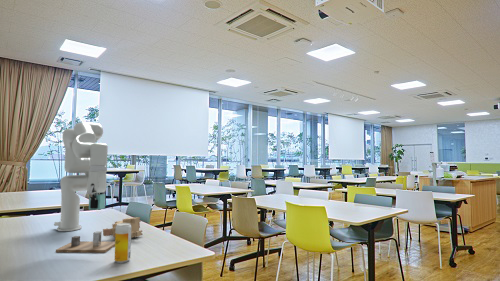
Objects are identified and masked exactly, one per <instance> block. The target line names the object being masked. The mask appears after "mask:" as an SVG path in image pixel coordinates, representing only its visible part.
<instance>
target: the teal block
mask: <svg viewBox="0 0 500 281" xmlns="http://www.w3.org/2000/svg"><path fill="white" fill-rule="evenodd" d="M88 195H89V194H88ZM97 200H98V208H96V209H91V208H90V201H91V200H90V195H89V196H88V211H89V210H91V211H93V210H94V211H95V210H96V211H97V210H98V211H101V210H103V209H106V194H100V193H99V194H98V197H97Z"/></svg>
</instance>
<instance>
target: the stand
mask: <svg viewBox="0 0 500 281" xmlns="http://www.w3.org/2000/svg"><path fill="white" fill-rule="evenodd" d="M70 240H71V241H70V242H69V243H67V244H64V245H62V246H60V247H58V248H57V249H55V253H77V254H78V252H80V253H85V254H86V253H92V254H93V253H95V254H96V253H97V254H99V253H100V254H101V253H102V254H104V253H107V252H108V251H110V250H112V249H113V248H115V241H101V245H100V246H93V240H92V241H86V240H85V241H81V236H80V235H74V236H71V239H70Z"/></svg>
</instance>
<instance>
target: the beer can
mask: <svg viewBox="0 0 500 281" xmlns="http://www.w3.org/2000/svg"><path fill="white" fill-rule="evenodd" d="M114 242H115V246H114V261H115V263H117V264H125V263H128V262H129V261H130V260H131V253H132V252H131V251H132V250H131V249H132V248H131V246H132V245H131V244H132V238H131V225H130V223H120V224H117V226H116V230H115V237H114Z"/></svg>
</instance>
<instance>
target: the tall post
mask: <svg viewBox="0 0 500 281" xmlns="http://www.w3.org/2000/svg"><path fill="white" fill-rule="evenodd" d="M102 233H103V230H102V231H101V230H100V231H98V230H97V231H96V230H95V231H93V234H92V235H93V236H92V241H93V246H100V245H101V242H102Z"/></svg>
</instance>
